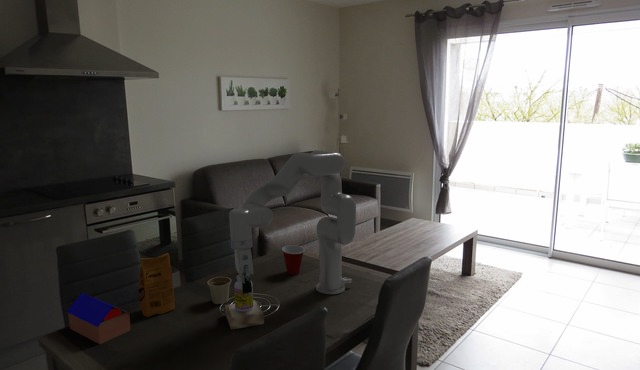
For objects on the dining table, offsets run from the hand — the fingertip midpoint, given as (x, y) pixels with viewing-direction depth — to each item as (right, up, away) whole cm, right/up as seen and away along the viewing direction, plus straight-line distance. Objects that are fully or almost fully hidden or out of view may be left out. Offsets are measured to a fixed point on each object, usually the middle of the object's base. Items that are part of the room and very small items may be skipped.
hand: (244, 287), depth 164 cm
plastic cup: (+15, -4, +48) cm, 50 cm away
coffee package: (-36, -11, +10) cm, 39 cm away
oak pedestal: (0, -12, +2) cm, 12 cm away
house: (-51, -14, -5) cm, 53 cm away
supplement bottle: (0, -8, +1) cm, 8 cm away
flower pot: (-13, -10, +17) cm, 24 cm away
